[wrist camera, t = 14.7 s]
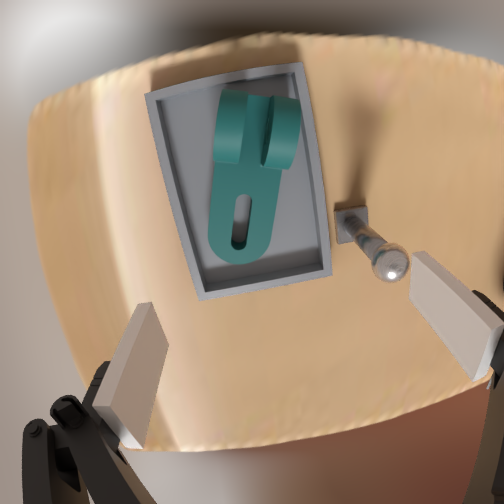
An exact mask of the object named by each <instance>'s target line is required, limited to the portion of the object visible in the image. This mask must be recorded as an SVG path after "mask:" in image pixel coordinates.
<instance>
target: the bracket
mask: <svg viewBox="0 0 504 504" xmlns="http://www.w3.org/2000/svg"><path fill="white" fill-rule="evenodd" d="M300 125H301V104H300V101H299V100H298V99H293V98H287V97H282V96H276V95H273V96H271V97H264V96H257V95H250V94H248V91H239V90H230V89H222V92H221V95H220V100H219V106H218V112H217V118H216V126H215V134H214V145H213V161H215V165H214V174H213V183H212V193H211V202H210V213H209V223H208V242H209V245H210V247H211V249H212V251H213V252H214V253H215V254H216V255H217V256H218V257H219V258H220V259H222V260H223V261H225V262H228V263H231V264H247V263H251V262H253V261H255V260H257V259H258V258H260V257H261V256H262V255H263V254H264V253H265V252H266V250H267V249H268V247H269V244H270V241H271V236H272V230H273V224H274V218H275V212H276V206H277V200H278V193H279V187H280V181H281V175H282V169H285V170H288V169H289V168H290V167H291V165H292V162H293V160H294V157H295V153H296V149H297V145H298V140H299V133H300ZM242 194H246V195H249V196H250V197H251V203H250V211H249V218H248V225H247V232H246V238H245V240H244V241H243V242H240V243H237V242H234V241H233V240H232V238H231V237H232V228H233V220H234V212H235V204H236V199H237V197H238V196H240V195H242Z"/></svg>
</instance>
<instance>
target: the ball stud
mask: <svg viewBox="0 0 504 504" xmlns="http://www.w3.org/2000/svg"><path fill="white" fill-rule="evenodd" d="M334 219H335V229H336V240H337V243H338V244H343V243H348V242H353V241H354V242H355V243H356V244H357V245H358V246H359V248H360V249H361V250H362V251H363V252H364V253H365V254H366V255H367V256H368V258H369V259H370V260H371V265H372V270H373V272H374V274H375V275H376V277H377V278H378V279H380V280H381V281H383V282H386V283H395V282H398V281H400V280H401V279H402V278H404V277H405V275H406V274H407V272H408V270H409V266H410V260H409V256H408V253H407V252H406V250H405V249H404V248H403V247H402V246H400V245H398V244H396V243H388V242H387V241H385V240H384V239H383V238H382V237H381V236H380V235H379V234H377V233H376V232H375V231H374V230H373V229H372V228H371V227H369V226H368V210H367V206H365V205H362V206H357V207H351V208H345V209H340V210H334Z"/></svg>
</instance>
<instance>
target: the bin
mask: <svg viewBox="0 0 504 504" xmlns="http://www.w3.org/2000/svg"><path fill="white" fill-rule="evenodd" d="M222 89H230V90H239V91H248V94H250V95H257V96H264V97H271V96H273V95H276V96H282V97H287V98H293V99H298V100H299V101H300V104H301V125H300V133H299V140H298V145H297V149H296V153H295V157H294V160H293V162H292V165H291V167H290V168H289V169H288V170H285V169H282V175H281V181H280V187H279V193H278V200H277V206H276V212H275V218H274V224H273V230H272V236H271V241H270V244H269V247H268V249H267V250H266V252H265V253H264V254H263V255H262V256H261V257H260V258H258V259H257V260H255V261H253V262H251V263H247V264H231V263H228V262H225V261H223V260H222V259H220V258H219V257H218V256H217V255H216V254H215V253H214V252H213V251H212V249H211V247H210V245H209V242H208V223H209V213H210V202H211V193H212V183H213V174H214V165H215V161H213V145H214V134H215V126H216V118H217V112H218V106H219V100H220V95H221V92H222ZM144 95H145V100H146V105H147V109H148V114H149V119H150V123H151V128H152V132H153V137H154V141H155V145H156V149H157V154H158V158H159V162H160V166H161V170H162V174H163V178H164V182H165V186H166V190H167V193H168V197H169V201H170V205H171V208H172V212H173V216H174V219H175V223H176V226H177V230H178V233H179V237H180V240H181V244H182V247H183V251H184V254H185V257H186V261H187V264H188V267H189V271H190V274H191V277H192V280H193V283H194V287H195V290H196V293H197V296H198V299H199V301H203V300H208V299H214V298H220V297H225V296H231V295H236V294H242V293H247V292H252V291H258V290H263V289H268V288H273V287H278V286H283V285H288V284H293V283H298V282H303V281H308V280H313V279H318V278H323V277H327V276H332V262H331V251H330V240H329V230H328V220H327V211H326V203H325V194H324V186H323V179H322V171H321V164H320V157H319V151H318V144H317V138H316V132H315V126H314V120H313V114H312V108H311V103H310V98H309V92H308V87H307V82H306V77H305V72H304V67H303V63H302V62H296V63H287V64H278V65H271V66H264V67H257V68H251V69H245V70H239V71H234V72H228V73H223V74H219V75H214V76H209V77H205V78H201V79H196V80H192V81H188V82H184V83H180V84H177V85H173V86H169V87H166V88H162V89H159V90H156V91H152V92H149V93H146V94H144ZM250 203H251V197H250V196H249V195H246V194H242V195H240V196H238V197H237V199H236V204H235V212H234V220H233V228H232V237H231V238H232V240H233V241H234V242H237V243H240V242H243V241H244V240H245V238H246V232H247V225H248V218H249V211H250Z"/></svg>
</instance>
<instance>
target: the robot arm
mask: <svg viewBox="0 0 504 504" xmlns="http://www.w3.org/2000/svg"><path fill="white" fill-rule="evenodd" d="M503 290H504V282H503ZM409 300H410V301H411V303H412V304H413V305H414V306H415V307H416V309H417V310H418V311H419V312H420V313H421V315H422V316H423V317H424V318H425V320H426V321H427V322H428V323H429V325H430V326H431V327H432V328H433V330H434V331H435V332H436V334H437V335H438V336H439V337H440V339H441V340H442V341H443V343H444V344H445V345H446V347H447V348H448V349H449V351H450V352H451V353H452V355H453V356H454V357H455V359H456V360H457V361H458V363H459V364H460V365H461V367H462V368H463V370H464V371H465V372H466V374H467V375H468V377H469V378H470V379H471V381H472V382H474V381H476V380H478V379H480V378H482V377H484V376H486V374H487V371H488V369H489V367H490V366H491V367H492V368H493V369H494V372H493V374H492V377H491V379H490V381H489V383H488V386H487V389H489V387H490V385H491V388H490V396H489V402H488V409H487V414H486V420H485V425H484V430H483V435H482V439H481V444H480V448H479V452H478V456H477V460H476V463H475V467H474V470H473V473H472V477H471V480H470V483H469V486H468V489H467V492H466V495H465V498H464V500H463V503H462V504H504V312H503V311H502V310H500V309H499V308H498V307H496V305H495V304H494V303H493V302H491V300H490V299H489V298H487V297H486V296H485V295H484V294H482V293H480V292H478V291H476V290H473V291H471V290H469V289H468V288H467V287H466V286H465V285H464V284H463V283H462V282H461V281H459V280H458V279H457V278H456V277H455V276H454V275H453V274H451V273H450V272H449V271H448V270H447V269H446V268H444V267H443V266H442V265H441V264H440V263H438V262H437V261H436V260H435V259H434V258H432V257H431V256H430V255H429V254H428V253H426V252H425V251H421V252H416V253H412V263H411V279H410V291H409ZM168 347H169V343H168V341H167V339H166V336H165V334H164V332H163V329H162V327H161V324H160V322H159V319H158V317H157V314H156V312H155V309H154V307H153V304H152V302H148V303H141V304H138V305H137V307H136V309H135V311H134V313H133V315H132V317H131V319H130V321H129V323H128V325H127V327H126V329H125V332H124V334H123V336H122V338H121V340H120V342H119V344H118V347H117V349H116V351H115V353H114V355H113V358H112V360H111V361H105V362H104V363H103V364H102V365H101V366H100V367H99V368H98V369H97V371H96V373H95V375H94V377H93V380H92V382H91V384H90V386H89V388H88V391H87V393H86V395H85V397H84V400H83V402H82V404H81V403H80V402H79V400H78V399H77V398H76V397H75V396H72V395H65V396H63V397H60V398H59V399H58V400H56V401H55V402H54V403H53V405H52V407H51V409H50V415H51V417H52V418H53V419H54V420H55V421H56V422H57V425H52V426H49V425H48V424H47V423H46V422H45V421H44V420H43V419H34V420H32V421H30V422H29V423H28V424H27V425H26V427H25V428H24V432H23V444H22V488H23V504H90V502H89V497H88V493H87V489H88V491H89V493H90V495H91V497H92V499H93V501H94V503H95V504H157V503H156V502H155V501H154V499H153V498H152V497H151V495H150V494H149V492H148V491H147V490H146V488H145V487H144V485H143V484H142V483H141V481H140V480H139V478H138V477H137V476H136V474H135V472H134V471H133V469H132V468H131V466H130V465H129V463H128V462H127V460H126V458H125V457H124V455H123V454H122V452H121V451H120V450H119V449H118V445H119V442H120V441H121V442H122V443H123V444H124V446H125V447H126V448H136V449H143V448H144V444H145V439H146V435H147V430H148V426H149V422H150V417H151V413H152V409H153V405H154V401H155V397H156V393H157V389H158V385H159V381H160V377H161V373H162V369H163V365H164V362H165V358H166V354H167V350H168ZM86 487H87V488H86Z"/></svg>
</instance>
